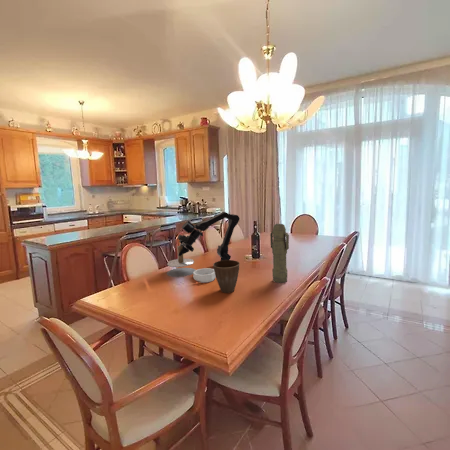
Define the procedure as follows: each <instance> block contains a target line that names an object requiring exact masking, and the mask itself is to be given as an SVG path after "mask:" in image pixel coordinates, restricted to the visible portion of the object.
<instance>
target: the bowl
mask: <svg viewBox="0 0 450 450" xmlns="http://www.w3.org/2000/svg"><path fill="white" fill-rule="evenodd" d="M192 275H193V280H195V281H196V282H197V283H202V284H203V283H204V284H206V283H212V282H214V281H215V280H216V276H215V272H214V268H210V267H209V268H207V267H203V268H198V269H195V271H194V272H193V274H192Z"/></svg>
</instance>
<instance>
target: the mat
mask: <svg viewBox="0 0 450 450" xmlns="http://www.w3.org/2000/svg"><path fill="white" fill-rule="evenodd" d="M195 270H196V269H195V268H191V267H176V268H173V269H170V270H169V271H167V272H166V275H167V276H168V277H174V278H182V277H189V276H192V275H193V272H194V271H195Z"/></svg>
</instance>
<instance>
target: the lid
mask: <svg viewBox="0 0 450 450" xmlns="http://www.w3.org/2000/svg"><path fill="white" fill-rule="evenodd" d="M176 250H177V253H178V254H177V258H176V259H171V260H169V261H168V262H167V266H168V267H172V268H185V267H188V266H191V265H194V264H195V261H194V259H193V258H184V254H183V255H181V256H179V253H180V251H181V250H182V246H180V245H176Z"/></svg>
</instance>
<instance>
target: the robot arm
mask: <svg viewBox="0 0 450 450" xmlns="http://www.w3.org/2000/svg"><path fill="white" fill-rule="evenodd" d="M223 219H227V224H228V225H227V228H226V231H225V234H224V237H223V240H222V243H221V244H220V245H218V246H217V249H216V254H217V255H218V256H219V258H220V260H219V261H222V260H231V258H232V257H231V256H232V255H230V254H229V244H230V242H231V238H232V236H233V233H234V230H235V228H236V226H237V225H238V223H239V222H240V216H239V215H237V214H231V213H228V212H227V211H222V212H220V213H218V214H217V215H214V216H213V217H211V218H209V219H206V220H202V221H199V222H198V223H195V224H193V223H192V222H191V221H189V220H187V221H186V222H185V223H184V224H183V225H181V229H182V230H183V231H185V232H186V233H187V234H189V235H184V234H178V237H177V240H179V241H178V242H179V246H182V250H181V251H180V253H179V256H181V255H183V256H184V254H187V253H189V252H191V253H192V252H194V250H195V249H194V248H195V247H193V244H194V243H196V241H197V239H198V238H200V236H201V237H203V236H204V232H205V231H206V230H208V229H209V228H210V226H212V225H214V224H216V223H217V222H220V221H221V220H223ZM177 255H178V253H177Z"/></svg>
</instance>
